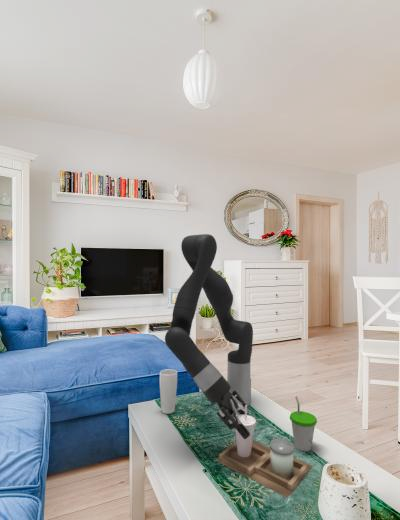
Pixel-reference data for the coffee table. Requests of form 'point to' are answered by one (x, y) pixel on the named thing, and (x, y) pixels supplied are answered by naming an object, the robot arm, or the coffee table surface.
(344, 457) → the coffee table surface
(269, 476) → the walnut tray
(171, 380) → the drinking glass
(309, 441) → the cup
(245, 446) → the smoothie
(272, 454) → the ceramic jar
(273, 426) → the coffee table surface
